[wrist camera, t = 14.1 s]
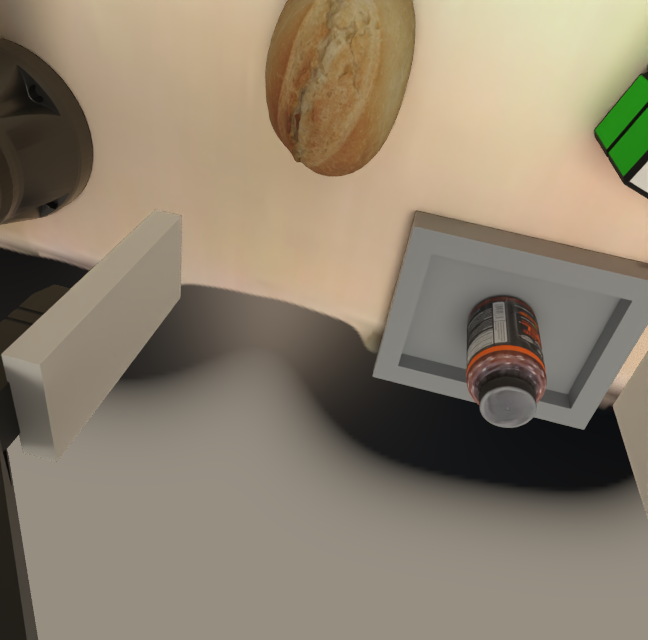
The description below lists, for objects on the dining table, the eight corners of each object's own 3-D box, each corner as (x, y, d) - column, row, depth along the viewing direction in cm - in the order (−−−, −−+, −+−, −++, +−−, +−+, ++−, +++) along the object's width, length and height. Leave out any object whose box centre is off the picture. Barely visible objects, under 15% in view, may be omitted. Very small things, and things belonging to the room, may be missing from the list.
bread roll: (270, 147, 48) (240, 183, 41) (298, -69, 39) (265, -66, 32) (384, 176, 47) (371, 217, 41) (439, -36, 38) (433, -27, 32)
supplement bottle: (550, 329, 50) (568, 420, 41) (491, 359, 54) (495, 449, 44) (512, 281, 49) (522, 365, 40) (453, 314, 52) (449, 399, 43)
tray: (376, 357, 57) (372, 376, 55) (416, 210, 48) (413, 226, 46) (578, 407, 56) (583, 429, 53) (660, 266, 47) (671, 285, 44)
